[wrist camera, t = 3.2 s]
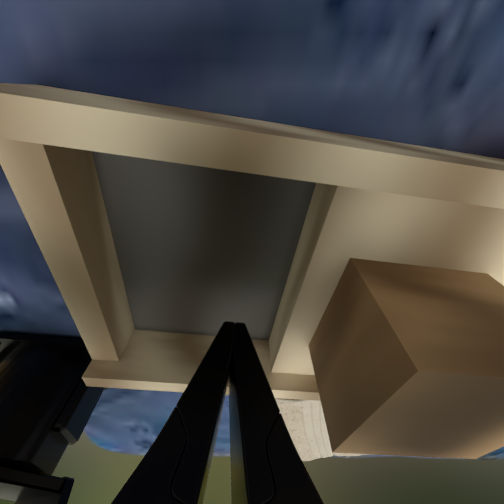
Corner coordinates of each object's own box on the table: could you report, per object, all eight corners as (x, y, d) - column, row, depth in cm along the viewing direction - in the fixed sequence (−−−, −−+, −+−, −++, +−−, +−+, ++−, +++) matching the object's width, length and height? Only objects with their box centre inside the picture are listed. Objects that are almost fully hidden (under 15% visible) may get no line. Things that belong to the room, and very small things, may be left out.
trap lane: (116, 332, 16) (86, 386, 13) (37, 84, 8) (-87, 79, 5) (615, 373, 19) (681, 423, 16) (915, 224, 11) (1147, 270, 8)
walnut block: (308, 345, 12) (332, 452, 9) (350, 257, 9) (417, 370, 5) (411, 354, 13) (475, 458, 9) (487, 273, 10) (636, 387, 6)
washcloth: (395, 344, 18) (419, 386, 15) (377, 430, 28) (390, 464, 25) (245, 363, 19) (244, 404, 17) (279, 438, 29) (282, 471, 26)
